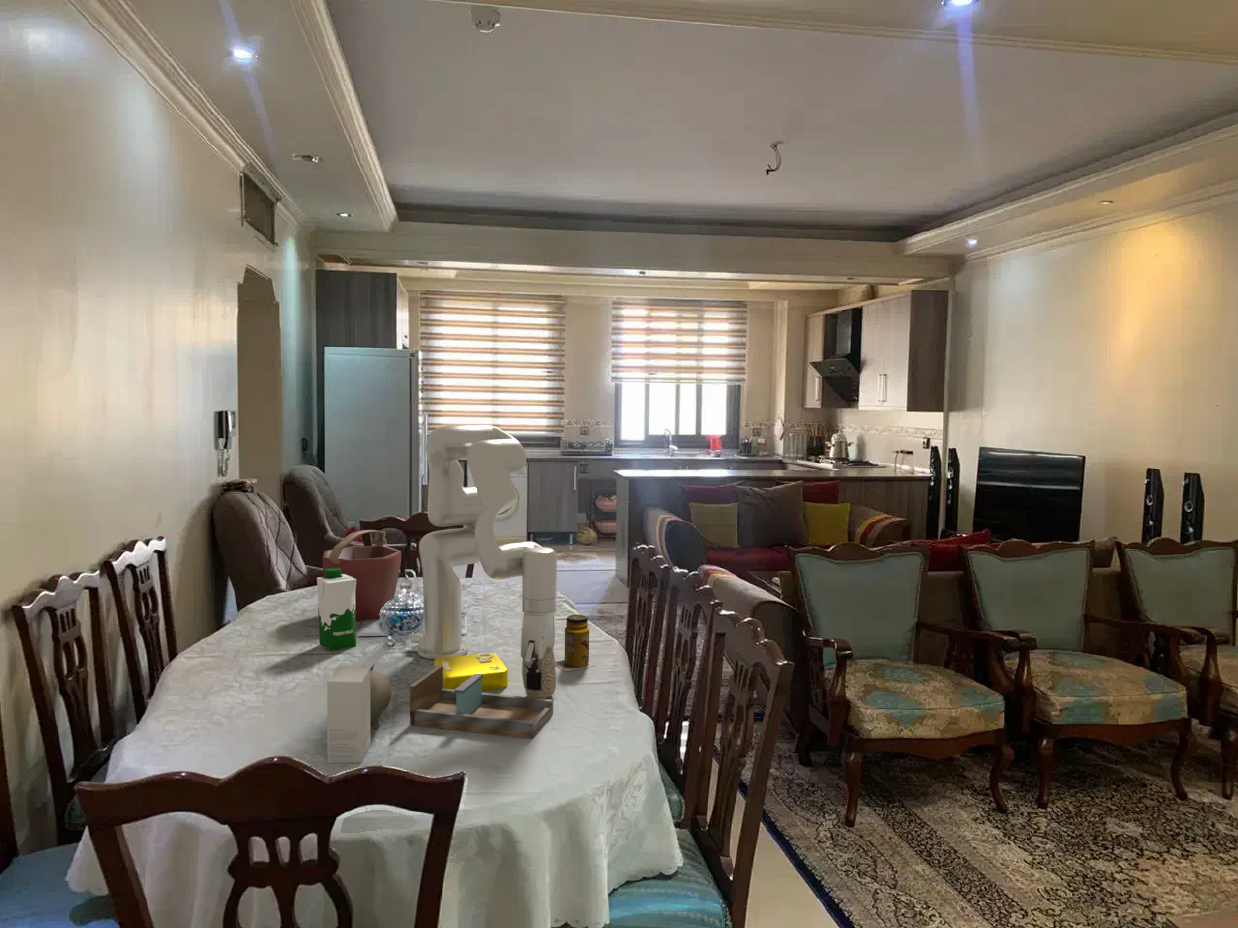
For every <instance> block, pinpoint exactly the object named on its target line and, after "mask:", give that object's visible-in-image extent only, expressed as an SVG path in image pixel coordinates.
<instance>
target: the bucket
mask: <svg viewBox="0 0 1238 928" xmlns="http://www.w3.org/2000/svg"><path fill="white" fill-rule="evenodd" d="M369 533H371V534H372V533H375V537H374V540H375V541H374V543H375V545H373V546H372V545H370V546H369V545H368V546H367V545H365V546H364V545H361V546H360V545H359V546H358V545H353V546H349V545H350V544H351V543H352V542H353V541H355V540H356V539H357V538H358V537H360V536H362V535H366V534H369ZM385 537H386V531H382V530H376V529H375V530H374V529H366V530H365V529H362V530H359V531H354V532H351V533H349V534H348V535H346V536H345V537H344V538H343V539H342V540H341V541H340V542H339V543H337V544H336V545H335V546H334V547H333V548H332V549H329V550H324V551H323V555H322V570H323V575H324V576H323V577H325V569H328V568H341V575H342V574H345V575H348V576H351V577H353V578H354V579H357V580H356V589H355V615H356V622H362V621H370V620H371V621H372V620H378V619H379V618H380V615H379V613H380V610H381V608H382V607H383V606H384V604H385V603H386V602H387V601H389V600H391V599H393V598H394V599H395V595H396V589H397V584H398V579H399V574H400V569H401V563H402V551H401V550H398V549H396V548H392V547H390V546H387V544H388V543H387V540H386V538H385ZM380 619H381V618H380ZM380 619H379V620H380Z"/></svg>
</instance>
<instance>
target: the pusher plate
mask: <svg viewBox="0 0 1238 928" xmlns="http://www.w3.org/2000/svg"><path fill="white" fill-rule="evenodd" d="M482 677H483V674H479V673H475V674H474V675H472V676H471V677H470V678H469V679H467V680H466V681H465V682H464V683H462V684H461V685H460V686H459V687H458V688H456V689H455V690H454V693H456V713H460V714H470V713H471V712H472V711H473V710H474V709H476V708H477V707H478V706H479V705H480V704H481V703H482V693H483V692H482Z"/></svg>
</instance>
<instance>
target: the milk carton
mask: <svg viewBox="0 0 1238 928" xmlns="http://www.w3.org/2000/svg"><path fill="white" fill-rule="evenodd" d="M356 580H357V579H354V578H353V577H351V576H348V575H345V574H342V575H341V568H328V569H325V576H321V577H316V583H317V584H316V585H317V601H318V602H317V606H318V607H317V608H318V615H317V616H318V638H319V641H318V642H319V646H321V647H323V648H325V649H326V650H328V651H330V652H332V651H333V652H334V651H337V650H343V649H347V648H348V649H349V648H353V647H357V632H356V631H357V627H356V623H357V621H356V615H355V589H356Z"/></svg>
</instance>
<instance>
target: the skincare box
mask: <svg viewBox="0 0 1238 928" xmlns="http://www.w3.org/2000/svg"><path fill="white" fill-rule="evenodd" d="M370 668H371V666H370V665H354V666H353V665H352V666H350V665H342V666H336V668H335V670H334V671H333V672H332V674H331V676H330V677H329V678H328V680H327V681H326V685H327V686H326V690H327V691H326V692H327V693H326V696H327V697H326V698H327V699H326V700H327V701H326V702H327V705H326V706H327V708H326V709H327V711H326V713H327V714H326V715H327V717H326V720H327V721H326V722H327V723H326V724H327V727H326V729H327V730H326V731H327V733H326V734H327V735H326V737H327V741H326V742H327V743H326V744H327V746H326V747H327V748H326V749H327V759H326V760H327V764H328V765H329V764H331V765H332V764H362V763H363V761H364V759H365V757H366V755H367V752H368V750H369V748H370V746H371V743H372V742H371V734H370Z"/></svg>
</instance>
